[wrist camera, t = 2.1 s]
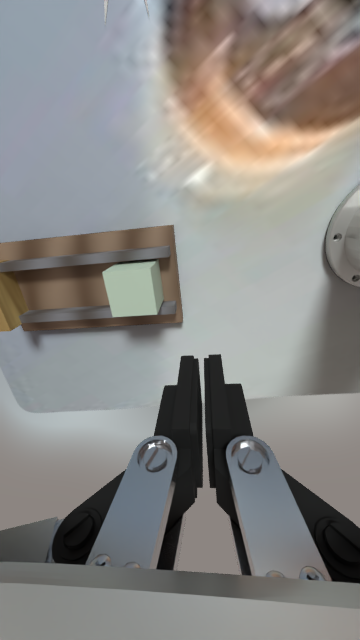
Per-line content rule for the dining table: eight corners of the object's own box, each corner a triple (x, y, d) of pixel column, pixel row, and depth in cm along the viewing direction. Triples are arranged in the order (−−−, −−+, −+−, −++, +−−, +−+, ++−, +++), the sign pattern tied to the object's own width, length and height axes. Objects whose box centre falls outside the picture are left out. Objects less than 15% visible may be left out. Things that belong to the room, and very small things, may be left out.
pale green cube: (158, 259, 28) (150, 268, 23) (163, 298, 30) (157, 314, 25) (117, 262, 28) (102, 272, 24) (125, 301, 30) (112, 317, 26)
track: (173, 224, 28) (167, 227, 23) (183, 317, 33) (179, 336, 28) (-3, 243, 30) (-43, 249, 25) (30, 326, 35) (2, 345, 30)
